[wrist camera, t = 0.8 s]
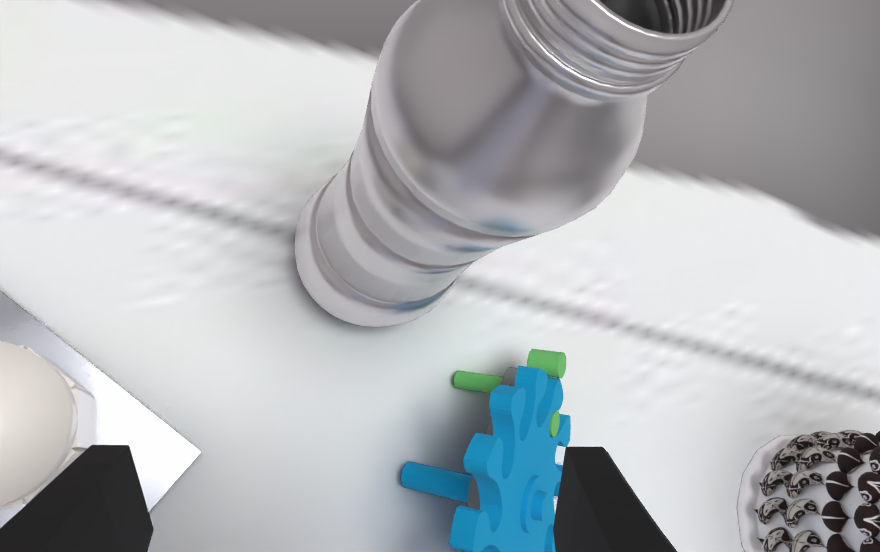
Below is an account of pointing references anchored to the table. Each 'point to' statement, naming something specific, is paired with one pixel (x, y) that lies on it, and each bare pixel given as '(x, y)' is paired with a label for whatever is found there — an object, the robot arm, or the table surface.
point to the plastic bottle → (485, 140)
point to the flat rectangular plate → (105, 409)
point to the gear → (507, 461)
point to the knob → (39, 423)
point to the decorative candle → (812, 494)
